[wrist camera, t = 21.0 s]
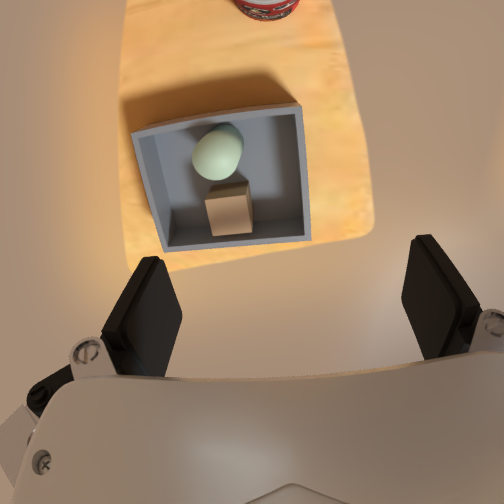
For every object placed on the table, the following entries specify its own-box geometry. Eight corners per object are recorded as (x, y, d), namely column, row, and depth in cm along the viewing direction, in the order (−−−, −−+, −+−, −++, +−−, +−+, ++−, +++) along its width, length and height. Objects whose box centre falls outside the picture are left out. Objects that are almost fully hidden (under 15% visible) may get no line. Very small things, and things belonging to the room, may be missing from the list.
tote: (147, 124, 37) (130, 133, 32) (297, 101, 35) (301, 106, 30) (174, 232, 46) (163, 252, 41) (307, 220, 43) (311, 240, 39)
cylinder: (202, 127, 36) (188, 139, 31) (241, 122, 36) (235, 133, 30) (208, 163, 39) (196, 182, 33) (246, 159, 39) (241, 177, 33)
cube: (211, 185, 41) (204, 200, 37) (248, 180, 40) (245, 195, 36) (218, 218, 43) (212, 236, 39) (254, 214, 43) (251, 232, 39)
